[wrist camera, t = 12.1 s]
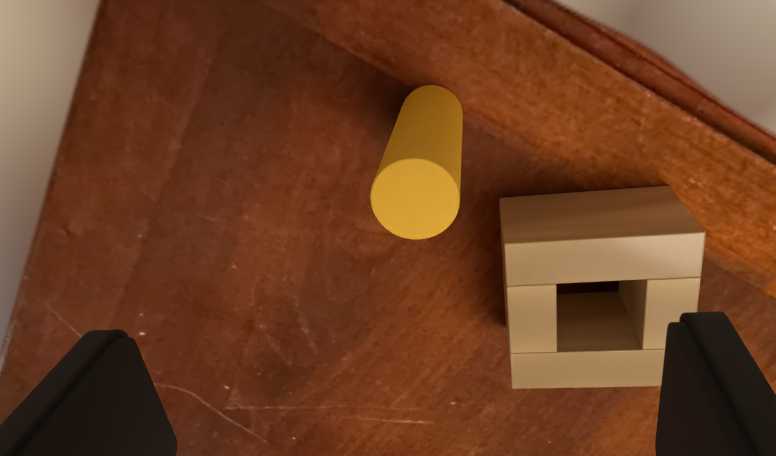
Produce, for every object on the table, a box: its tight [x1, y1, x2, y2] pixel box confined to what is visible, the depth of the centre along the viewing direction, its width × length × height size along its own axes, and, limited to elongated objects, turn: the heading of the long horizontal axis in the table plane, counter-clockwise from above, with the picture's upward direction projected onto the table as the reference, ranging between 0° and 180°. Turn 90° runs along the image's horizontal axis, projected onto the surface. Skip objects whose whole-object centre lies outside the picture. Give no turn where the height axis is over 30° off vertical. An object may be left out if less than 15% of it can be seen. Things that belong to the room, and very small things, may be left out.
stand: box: [499, 186, 706, 389], centre depth 29 cm, size 8×8×5 cm
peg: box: [370, 85, 463, 239], centre depth 24 cm, size 3×3×10 cm
